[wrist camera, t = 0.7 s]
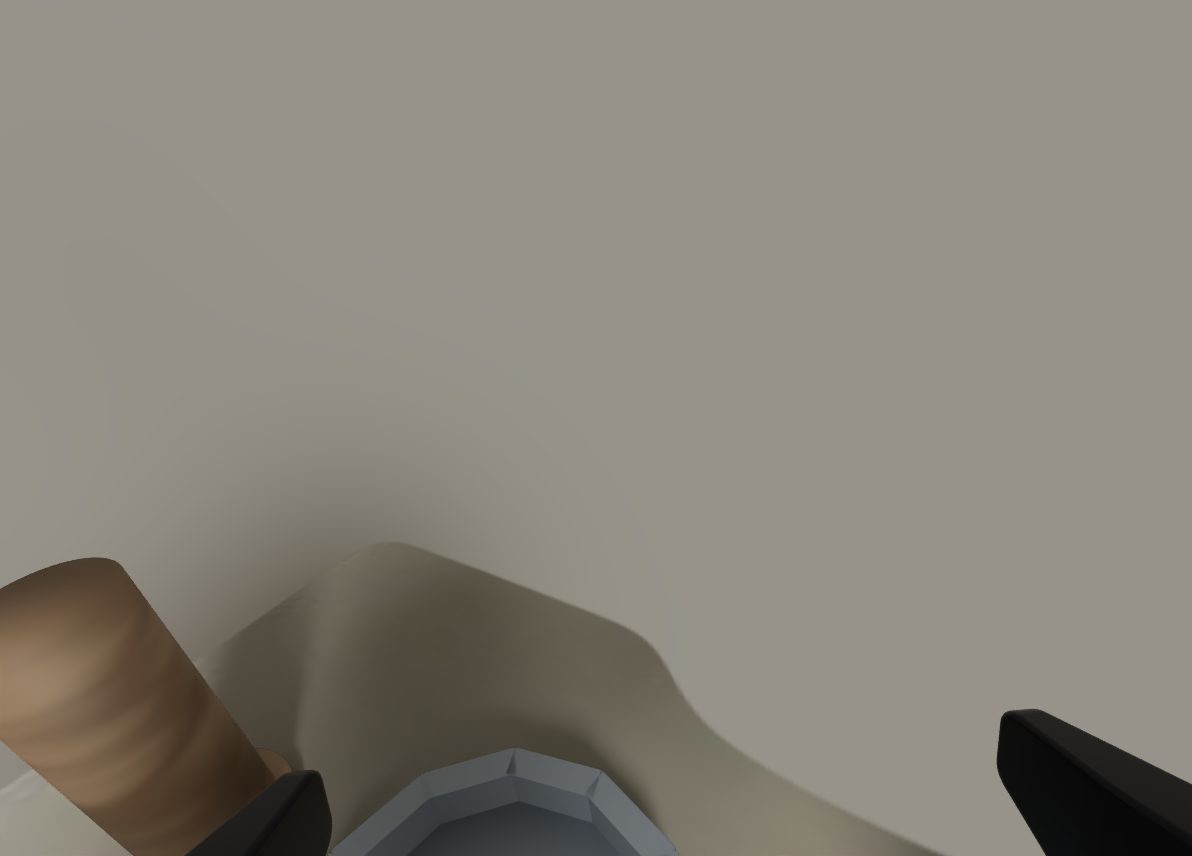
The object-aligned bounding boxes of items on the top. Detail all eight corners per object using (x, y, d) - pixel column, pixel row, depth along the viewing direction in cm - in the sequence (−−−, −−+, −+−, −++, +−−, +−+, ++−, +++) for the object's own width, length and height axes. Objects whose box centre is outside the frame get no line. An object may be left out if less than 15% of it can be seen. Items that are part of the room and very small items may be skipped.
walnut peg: (223, 938, 20) (-19, 731, 13) (109, 889, 21) (-161, 680, 14) (328, 776, 24) (191, 558, 17) (228, 744, 26) (65, 533, 19)
